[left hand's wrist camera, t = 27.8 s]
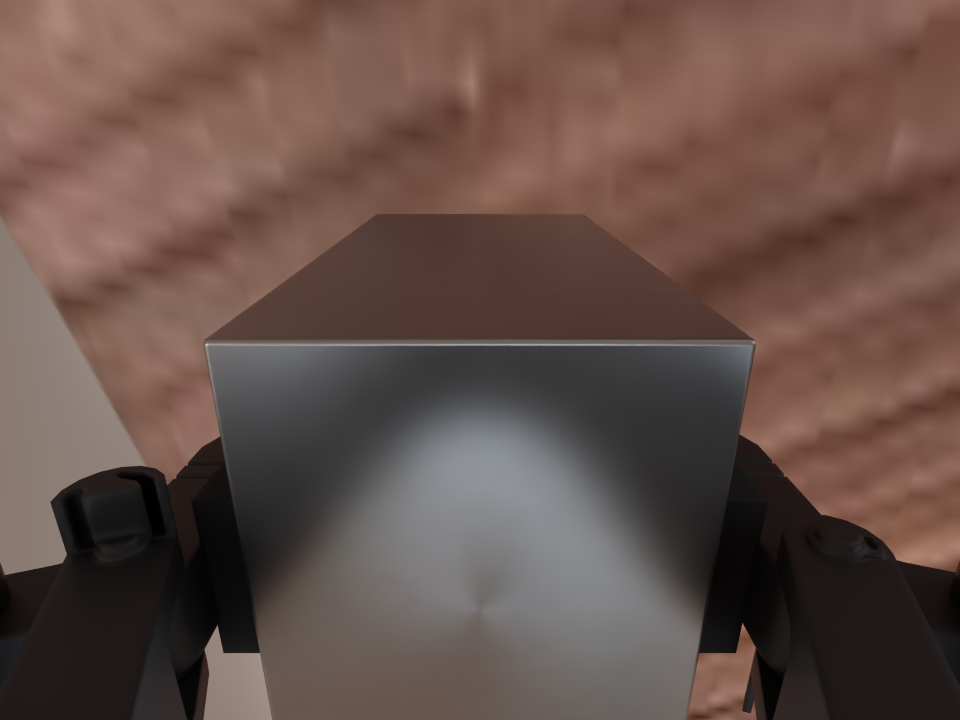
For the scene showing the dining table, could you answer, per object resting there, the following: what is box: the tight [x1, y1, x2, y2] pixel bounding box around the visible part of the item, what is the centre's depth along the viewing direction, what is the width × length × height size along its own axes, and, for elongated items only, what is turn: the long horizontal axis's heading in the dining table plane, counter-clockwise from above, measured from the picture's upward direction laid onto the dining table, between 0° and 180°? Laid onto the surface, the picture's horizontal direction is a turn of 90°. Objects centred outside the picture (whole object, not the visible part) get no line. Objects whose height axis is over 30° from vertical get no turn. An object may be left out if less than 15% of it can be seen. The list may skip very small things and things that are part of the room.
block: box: [204, 214, 755, 720], centre depth 13 cm, size 6×8×12 cm
